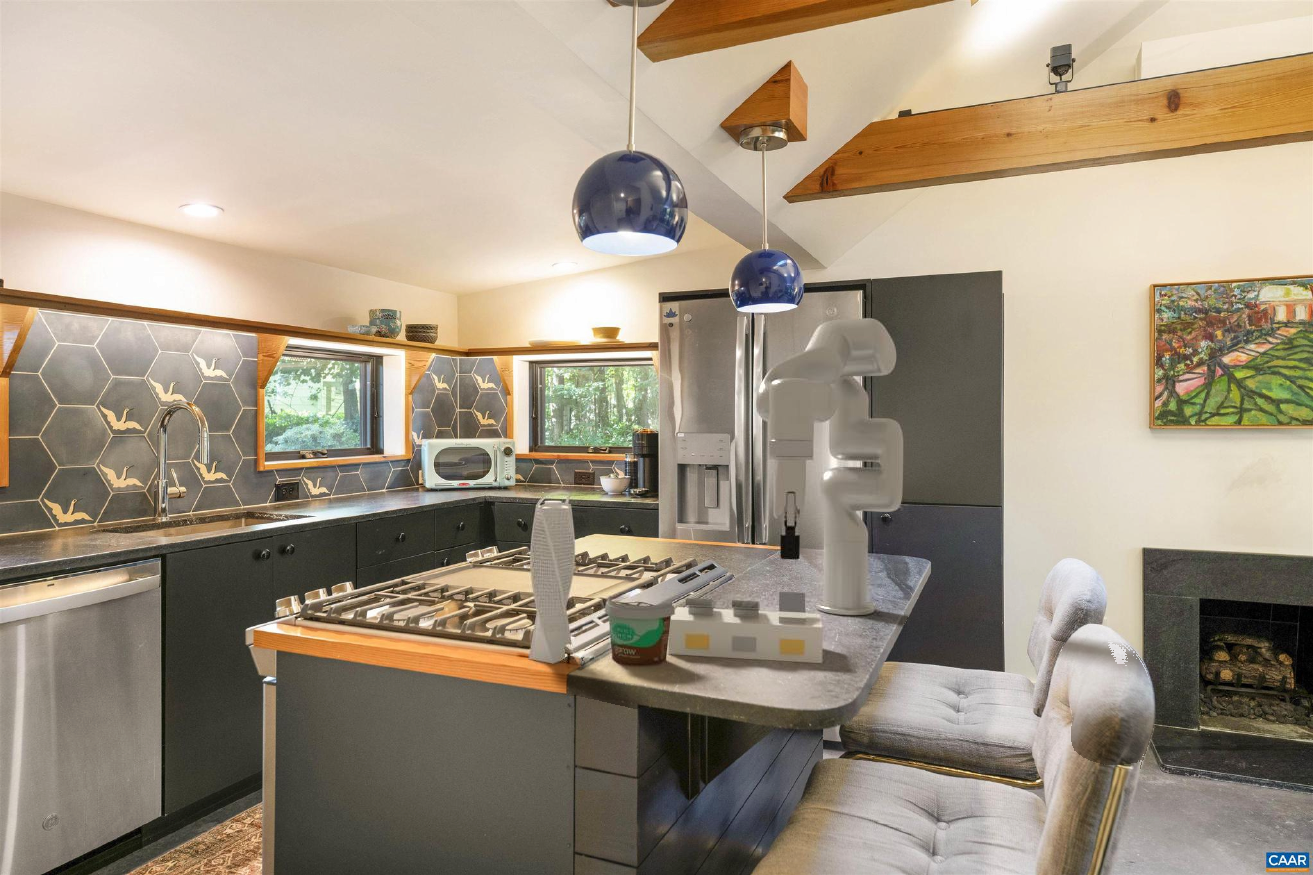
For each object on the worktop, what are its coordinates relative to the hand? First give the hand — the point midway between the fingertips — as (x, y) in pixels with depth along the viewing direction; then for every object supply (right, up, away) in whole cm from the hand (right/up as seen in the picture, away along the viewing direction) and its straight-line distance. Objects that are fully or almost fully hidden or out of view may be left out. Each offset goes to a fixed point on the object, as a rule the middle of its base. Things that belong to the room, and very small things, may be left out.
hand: (789, 558), depth 129 cm
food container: (-27, -17, -3) cm, 32 cm away
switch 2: (-7, -9, +4) cm, 12 cm away
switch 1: (-15, -9, +6) cm, 18 cm away
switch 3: (+1, -9, +3) cm, 10 cm away
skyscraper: (-40, -17, -1) cm, 44 cm away
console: (-7, -17, +4) cm, 19 cm away
